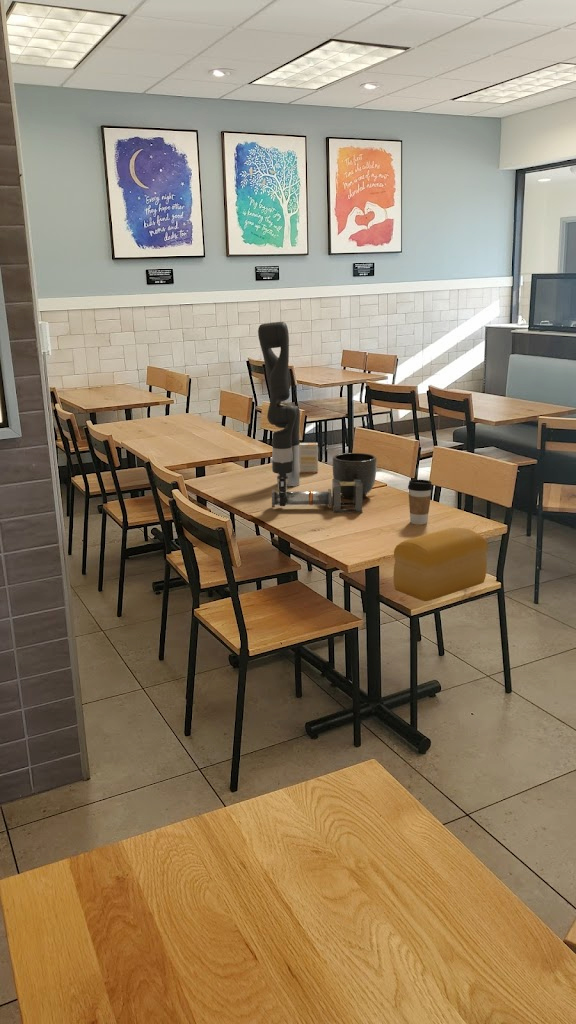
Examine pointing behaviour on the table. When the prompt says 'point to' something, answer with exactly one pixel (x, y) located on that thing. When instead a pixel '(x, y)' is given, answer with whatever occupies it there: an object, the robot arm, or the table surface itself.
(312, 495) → the tube
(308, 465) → the supplement box
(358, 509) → the hollow square frame
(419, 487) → the coffee cup
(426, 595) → the bread
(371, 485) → the planter
